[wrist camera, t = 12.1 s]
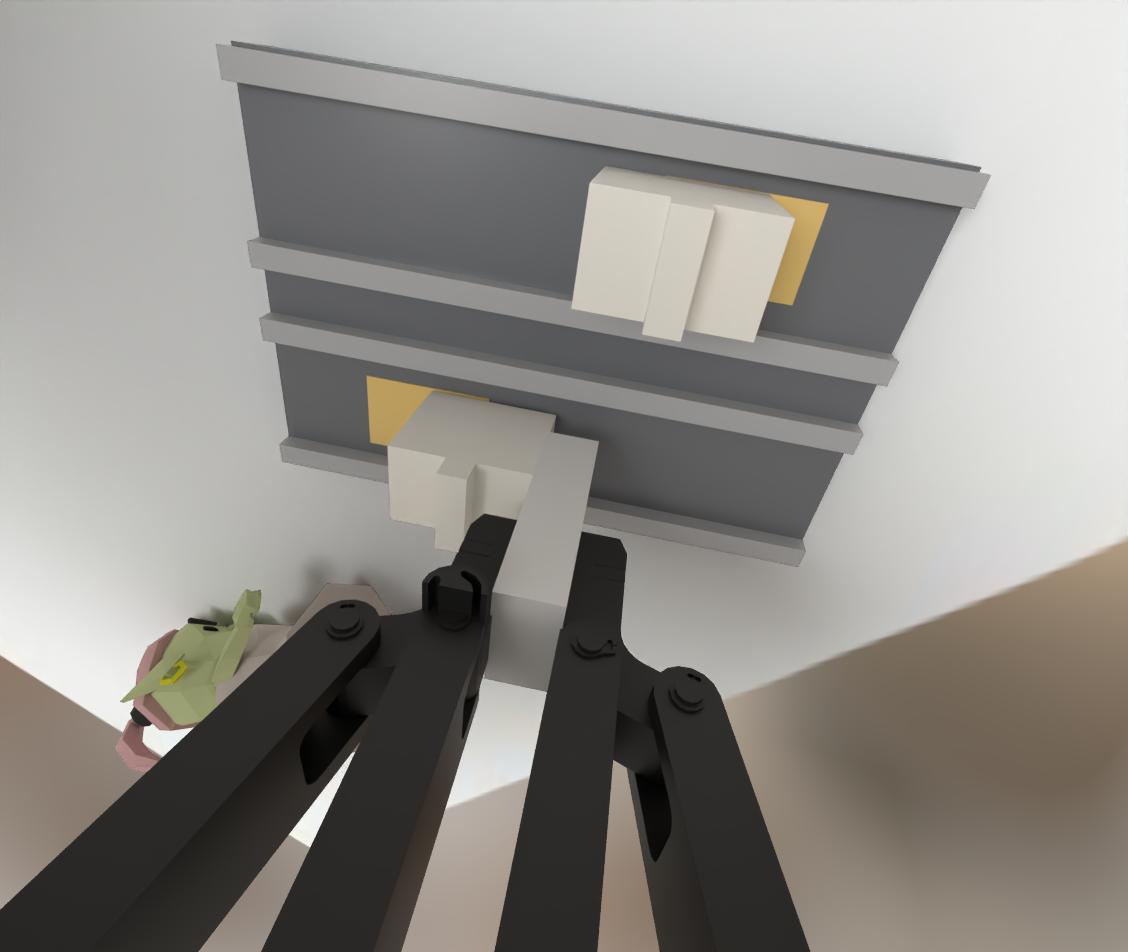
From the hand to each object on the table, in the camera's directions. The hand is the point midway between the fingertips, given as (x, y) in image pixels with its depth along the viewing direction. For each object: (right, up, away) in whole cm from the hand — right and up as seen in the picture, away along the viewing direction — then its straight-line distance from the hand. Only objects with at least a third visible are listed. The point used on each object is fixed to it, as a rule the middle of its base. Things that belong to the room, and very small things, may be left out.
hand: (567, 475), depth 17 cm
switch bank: (0, +5, +1) cm, 5 cm away
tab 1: (-2, +1, +2) cm, 3 cm away
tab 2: (+3, +6, -3) cm, 7 cm away
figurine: (-13, -6, +11) cm, 18 cm away
